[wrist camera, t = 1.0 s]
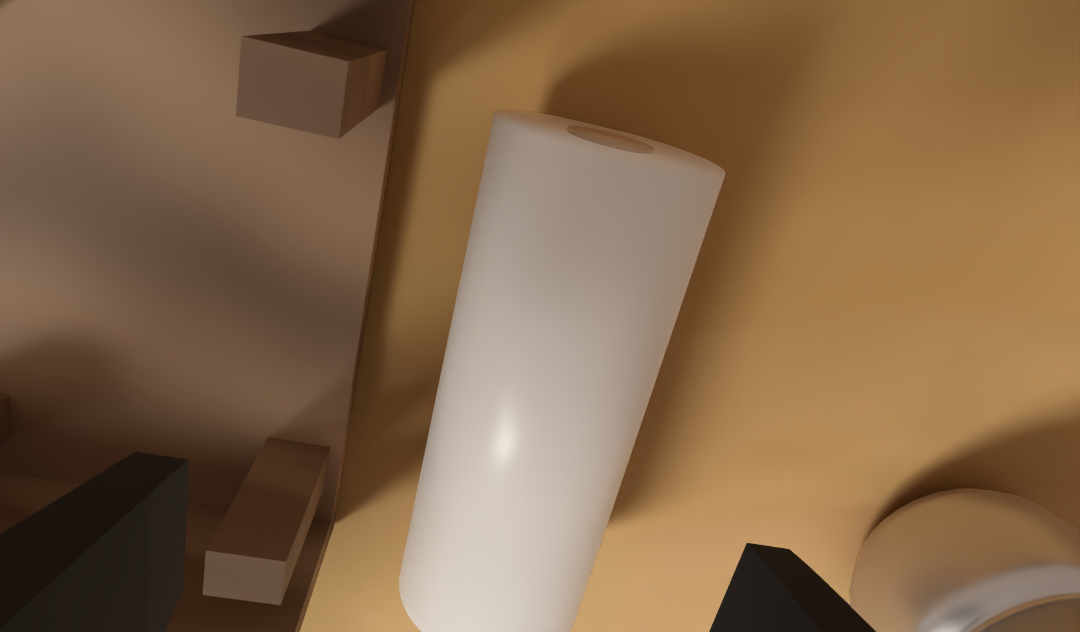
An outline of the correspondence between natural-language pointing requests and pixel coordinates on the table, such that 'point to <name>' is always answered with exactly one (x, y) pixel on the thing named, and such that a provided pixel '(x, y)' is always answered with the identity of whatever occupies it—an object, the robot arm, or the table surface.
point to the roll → (548, 367)
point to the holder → (194, 266)
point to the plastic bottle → (969, 567)
